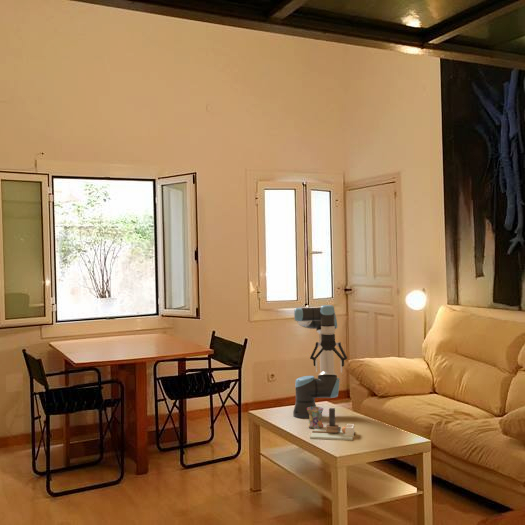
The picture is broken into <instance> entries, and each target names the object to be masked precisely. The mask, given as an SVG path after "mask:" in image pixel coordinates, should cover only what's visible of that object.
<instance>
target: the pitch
mask: <svg viewBox="0 0 525 525" xmlns="http://www.w3.org/2000/svg"><path fill="white" fill-rule="evenodd" d="M355 431H356V430H355V429H354V434H353V436H349V435H345V433H343V432H342V429H341V431H340V432H338V433H335V432H326V428H313V430H312V433H311V434H310V437H309V439H313V440H333V441H337V440H338V441H353V440H354V436H355V433H356V432H355Z"/></svg>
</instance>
